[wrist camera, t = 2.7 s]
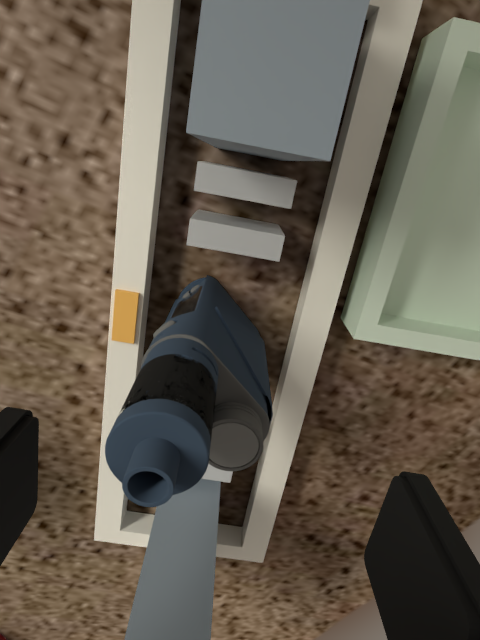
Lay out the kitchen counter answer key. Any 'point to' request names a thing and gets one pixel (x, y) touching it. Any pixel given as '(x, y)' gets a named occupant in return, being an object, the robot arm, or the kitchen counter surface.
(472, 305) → the tray
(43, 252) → the kitchen counter surface
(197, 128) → the rail
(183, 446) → the vaping device
